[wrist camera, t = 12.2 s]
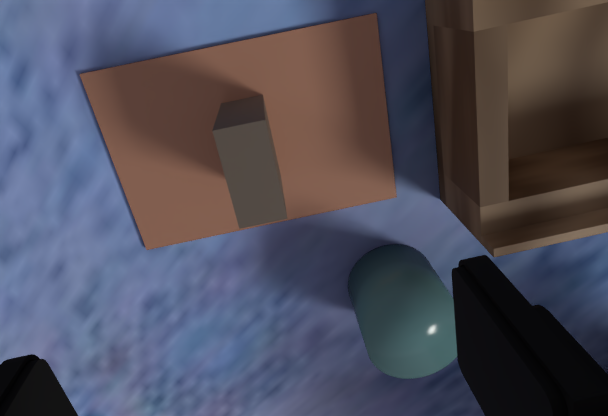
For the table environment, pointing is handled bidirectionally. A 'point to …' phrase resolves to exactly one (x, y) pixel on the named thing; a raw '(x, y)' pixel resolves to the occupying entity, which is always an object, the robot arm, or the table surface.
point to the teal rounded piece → (403, 312)
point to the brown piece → (249, 130)
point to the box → (521, 118)
